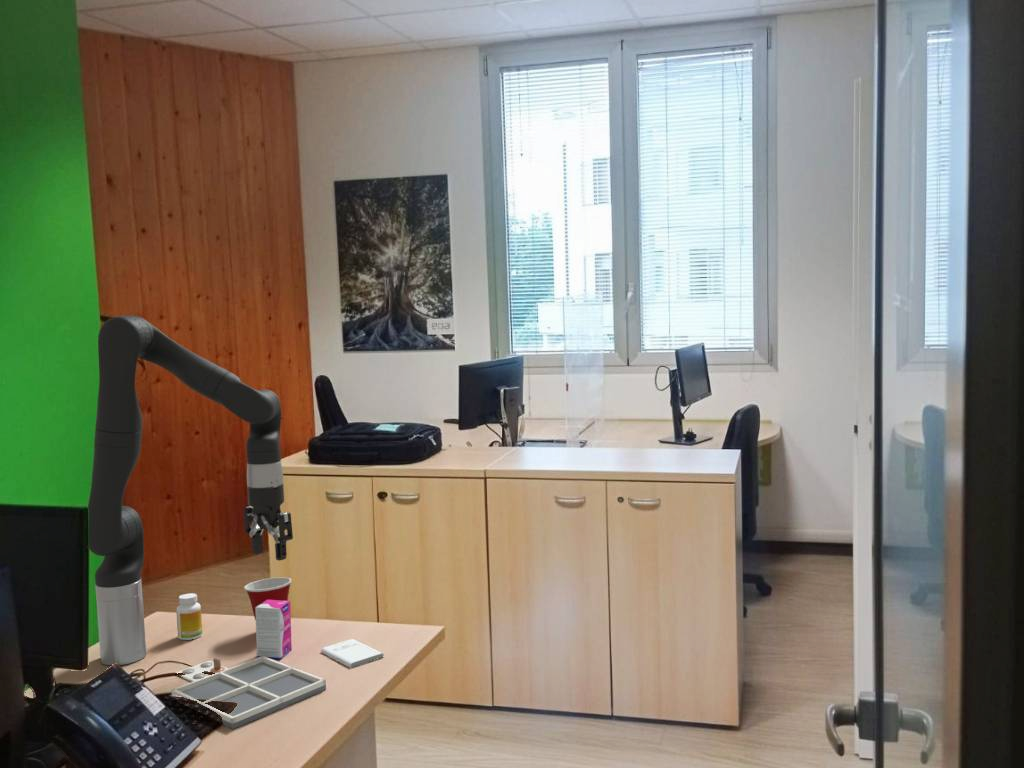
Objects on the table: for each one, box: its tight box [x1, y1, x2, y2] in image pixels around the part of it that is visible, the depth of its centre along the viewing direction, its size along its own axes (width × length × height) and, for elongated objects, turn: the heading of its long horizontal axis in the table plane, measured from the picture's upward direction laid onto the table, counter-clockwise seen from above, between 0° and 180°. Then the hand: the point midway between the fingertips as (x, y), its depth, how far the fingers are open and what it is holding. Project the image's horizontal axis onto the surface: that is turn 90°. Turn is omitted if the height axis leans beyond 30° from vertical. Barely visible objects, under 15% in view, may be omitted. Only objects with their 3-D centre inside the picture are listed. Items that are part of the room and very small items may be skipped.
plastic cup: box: [243, 576, 293, 621], centre depth 212 cm, size 11×11×12 cm
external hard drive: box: [320, 638, 385, 669], centre depth 197 cm, size 2×8×12 cm
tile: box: [175, 657, 230, 683], centre depth 189 cm, size 8×8×3 cm
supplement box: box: [255, 600, 293, 661], centre depth 198 cm, size 6×6×12 cm
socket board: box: [170, 656, 327, 730], centre depth 178 cm, size 21×21×2 cm
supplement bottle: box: [175, 593, 203, 641], centre depth 211 cm, size 5×5×10 cm
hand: (269, 556), depth 196 cm, fingers open, 8 cm apart
